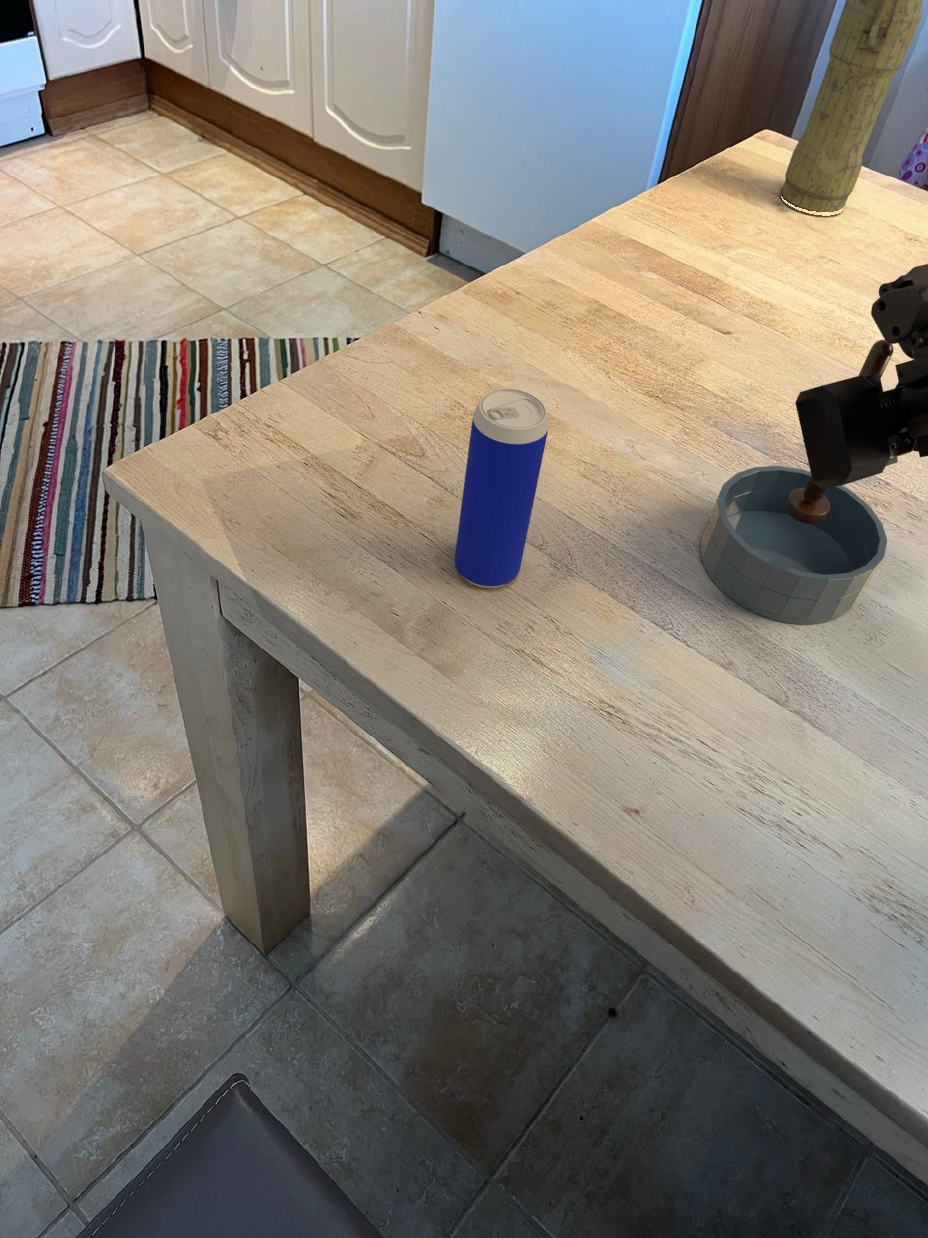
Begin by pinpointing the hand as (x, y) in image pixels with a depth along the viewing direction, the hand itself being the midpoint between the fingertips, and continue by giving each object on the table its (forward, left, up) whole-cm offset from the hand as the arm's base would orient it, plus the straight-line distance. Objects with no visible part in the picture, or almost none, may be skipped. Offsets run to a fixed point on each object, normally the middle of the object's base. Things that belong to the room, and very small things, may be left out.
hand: (825, 431), depth 69 cm
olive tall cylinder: (+9, -74, -13) cm, 75 cm away
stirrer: (-1, +1, -7) cm, 7 cm away
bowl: (-1, +1, -12) cm, 13 cm away
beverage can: (+20, +13, -13) cm, 27 cm away
